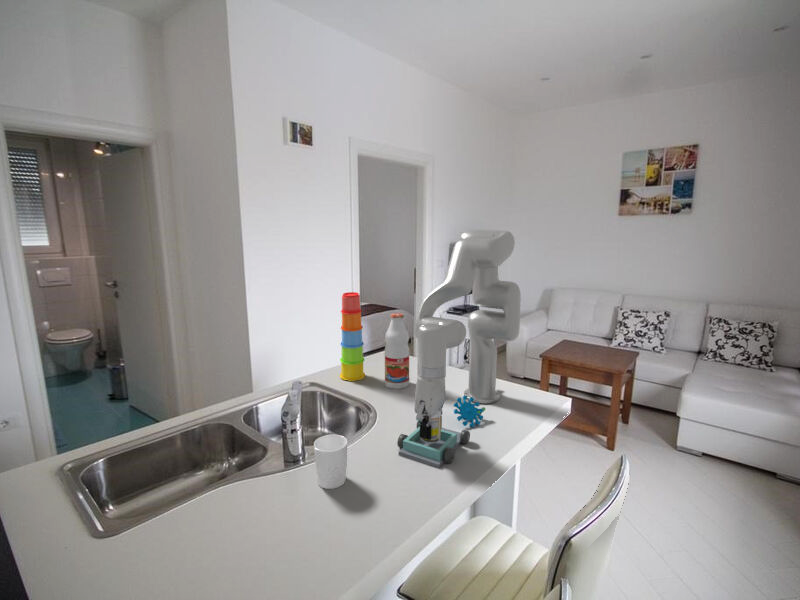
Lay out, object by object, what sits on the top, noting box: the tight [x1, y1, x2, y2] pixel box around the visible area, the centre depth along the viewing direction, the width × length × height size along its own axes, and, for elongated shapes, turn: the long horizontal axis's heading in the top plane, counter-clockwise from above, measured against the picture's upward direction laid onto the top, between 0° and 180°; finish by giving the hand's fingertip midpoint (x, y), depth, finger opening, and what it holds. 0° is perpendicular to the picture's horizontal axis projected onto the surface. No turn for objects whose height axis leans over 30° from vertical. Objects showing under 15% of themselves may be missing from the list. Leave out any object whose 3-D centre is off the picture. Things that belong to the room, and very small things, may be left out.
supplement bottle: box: [421, 410, 442, 444], centre depth 112 cm, size 6×6×10 cm
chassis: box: [396, 421, 471, 469], centre depth 115 cm, size 18×15×4 cm
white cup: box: [313, 433, 348, 490], centre depth 98 cm, size 8×8×10 cm
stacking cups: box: [339, 291, 366, 382], centre depth 164 cm, size 10×10×35 cm
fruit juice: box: [384, 312, 410, 390], centre depth 156 cm, size 9×9×28 cm
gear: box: [453, 395, 486, 428], centre depth 130 cm, size 11×6×10 cm
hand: (430, 432), depth 113 cm, fingers closed on supplement bottle, 5 cm apart
